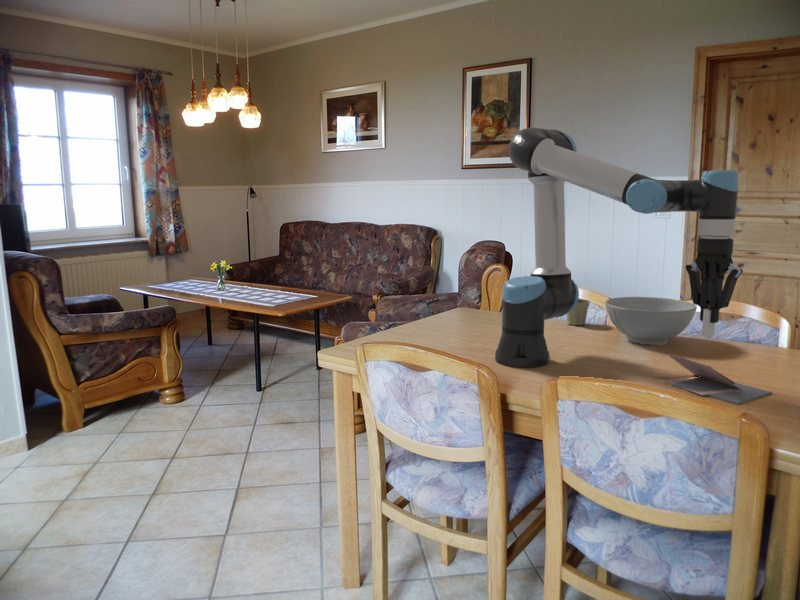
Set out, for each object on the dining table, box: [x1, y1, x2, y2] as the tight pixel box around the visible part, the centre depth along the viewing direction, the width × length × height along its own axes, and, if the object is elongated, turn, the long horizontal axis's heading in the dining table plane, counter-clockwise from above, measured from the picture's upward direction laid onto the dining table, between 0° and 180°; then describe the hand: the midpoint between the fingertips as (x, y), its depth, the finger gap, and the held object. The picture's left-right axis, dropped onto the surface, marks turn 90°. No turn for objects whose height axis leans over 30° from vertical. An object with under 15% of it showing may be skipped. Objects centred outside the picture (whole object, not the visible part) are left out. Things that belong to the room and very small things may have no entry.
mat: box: [672, 376, 773, 406], centre depth 142 cm, size 14×16×1 cm
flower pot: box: [565, 298, 591, 326], centre depth 215 cm, size 9×9×9 cm
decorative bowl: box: [604, 296, 698, 346], centre depth 189 cm, size 27×27×12 cm
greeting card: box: [661, 352, 742, 396], centre depth 145 cm, size 11×7×15 cm
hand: (707, 335), depth 143 cm, fingers closed
